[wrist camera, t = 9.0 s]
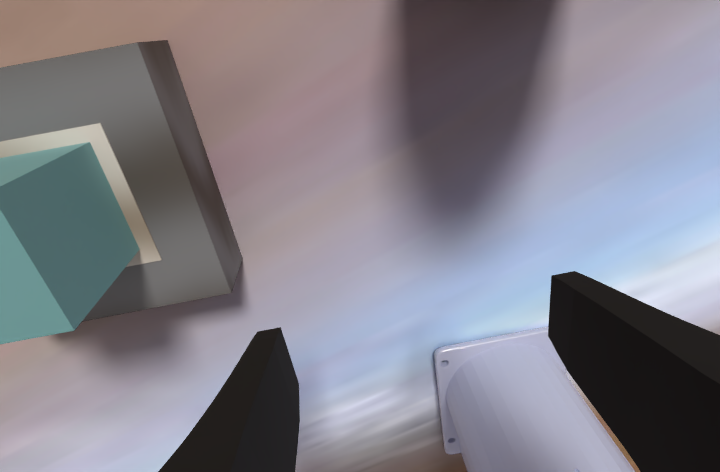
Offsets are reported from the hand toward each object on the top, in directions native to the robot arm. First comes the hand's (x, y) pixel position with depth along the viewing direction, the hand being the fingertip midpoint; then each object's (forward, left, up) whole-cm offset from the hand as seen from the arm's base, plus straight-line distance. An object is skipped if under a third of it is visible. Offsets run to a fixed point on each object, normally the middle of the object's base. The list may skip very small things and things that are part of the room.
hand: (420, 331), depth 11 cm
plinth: (+3, +12, -10) cm, 16 cm away
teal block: (+3, +12, -7) cm, 14 cm away
